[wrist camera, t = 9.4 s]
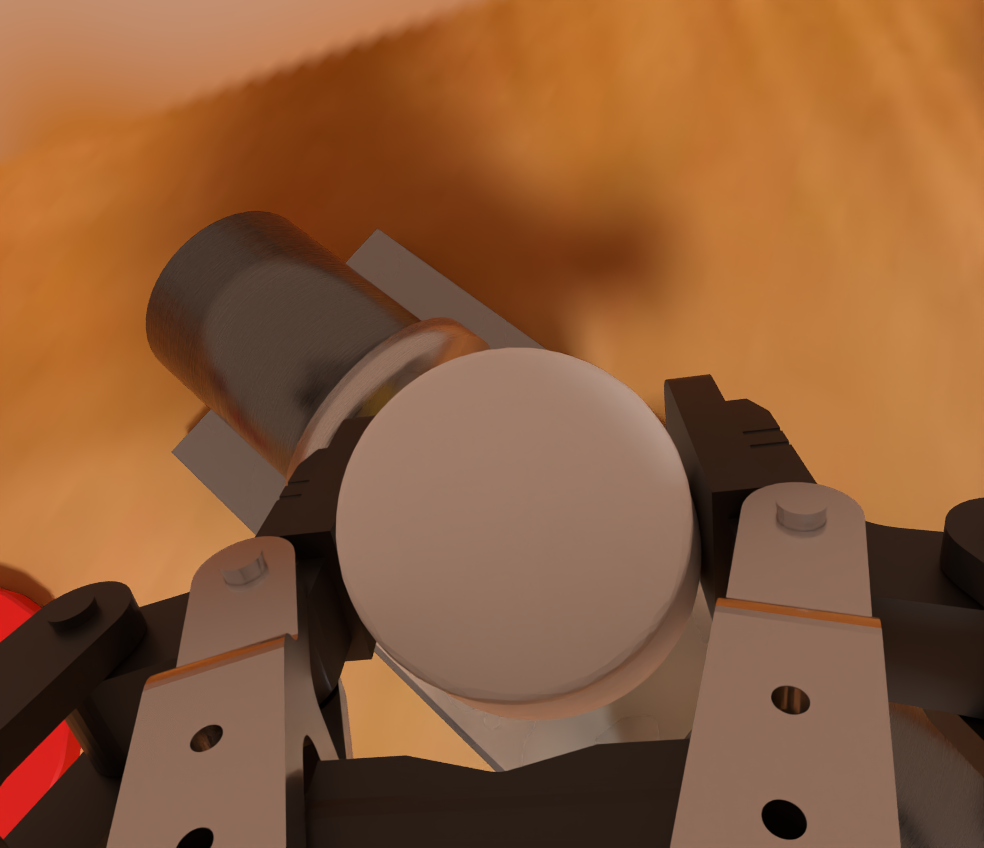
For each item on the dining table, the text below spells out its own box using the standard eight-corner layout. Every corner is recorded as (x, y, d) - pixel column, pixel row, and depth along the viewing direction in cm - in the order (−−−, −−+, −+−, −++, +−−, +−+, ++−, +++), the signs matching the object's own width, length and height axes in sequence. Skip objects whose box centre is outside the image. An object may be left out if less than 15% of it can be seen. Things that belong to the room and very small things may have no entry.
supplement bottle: (409, 593, 16) (213, 538, 8) (539, 434, 17) (478, 240, 9) (576, 745, 14) (537, 859, 7) (712, 565, 15) (827, 473, 7)
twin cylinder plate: (190, 460, 21) (21, 386, 15) (387, 245, 22) (302, 97, 16) (848, 1102, 14) (1021, 1438, 8) (1082, 747, 16) (1384, 813, 10)
